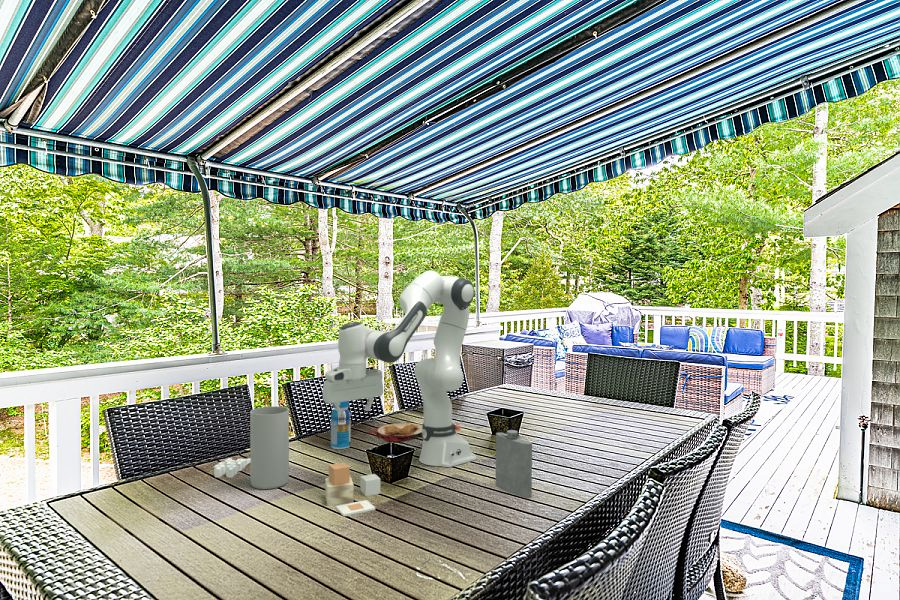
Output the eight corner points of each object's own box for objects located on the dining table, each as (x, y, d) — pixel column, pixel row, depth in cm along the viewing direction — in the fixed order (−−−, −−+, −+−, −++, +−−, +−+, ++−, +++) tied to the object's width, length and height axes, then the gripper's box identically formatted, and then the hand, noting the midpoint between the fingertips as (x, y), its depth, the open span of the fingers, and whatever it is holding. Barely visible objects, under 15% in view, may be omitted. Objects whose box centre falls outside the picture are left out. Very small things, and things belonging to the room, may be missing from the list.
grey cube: (374, 488, 185) (374, 473, 185) (380, 493, 181) (380, 478, 181) (360, 491, 183) (360, 476, 183) (365, 496, 179) (365, 481, 178)
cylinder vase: (253, 492, 181) (253, 416, 180) (248, 480, 192) (247, 408, 191) (292, 486, 187) (292, 412, 186) (285, 474, 198) (285, 405, 197)
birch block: (350, 494, 181) (350, 475, 181) (353, 503, 173) (353, 484, 173) (325, 496, 178) (325, 478, 178) (327, 506, 171) (327, 487, 171)
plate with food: (440, 435, 254) (440, 427, 254) (392, 444, 237) (392, 436, 237) (408, 425, 273) (408, 417, 273) (361, 433, 255) (362, 425, 255)
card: (366, 501, 174) (366, 499, 174) (375, 509, 168) (375, 507, 168) (335, 508, 169) (335, 505, 169) (343, 516, 163) (343, 514, 163)
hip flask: (533, 496, 180) (534, 435, 179) (524, 499, 177) (525, 437, 177) (500, 482, 192) (501, 424, 192) (491, 484, 190) (492, 426, 189)
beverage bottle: (326, 448, 230) (326, 400, 229) (337, 442, 237) (337, 396, 237) (343, 450, 226) (343, 402, 226) (354, 445, 234) (355, 398, 234)
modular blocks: (231, 478, 194) (232, 467, 194) (212, 478, 195) (212, 466, 195) (254, 460, 214) (254, 450, 214) (236, 460, 214) (236, 450, 214)
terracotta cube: (343, 477, 179) (343, 462, 179) (349, 482, 175) (349, 466, 174) (328, 480, 176) (328, 464, 176) (334, 485, 172) (334, 469, 172)
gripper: (378, 366, 192) (379, 406, 192) (320, 373, 181) (321, 415, 182) (385, 369, 186) (387, 409, 187) (326, 376, 176) (328, 419, 177)
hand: (354, 412), depth 184 cm, fingers open, 8 cm apart
